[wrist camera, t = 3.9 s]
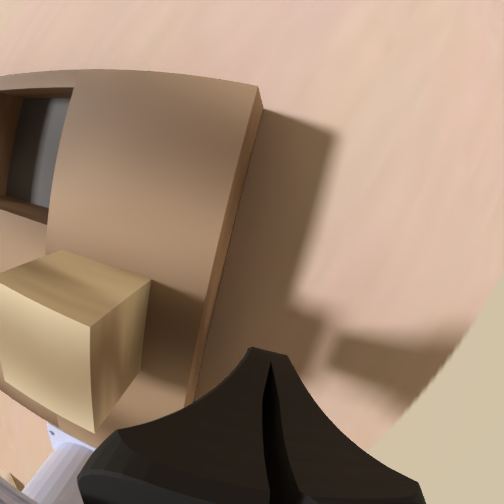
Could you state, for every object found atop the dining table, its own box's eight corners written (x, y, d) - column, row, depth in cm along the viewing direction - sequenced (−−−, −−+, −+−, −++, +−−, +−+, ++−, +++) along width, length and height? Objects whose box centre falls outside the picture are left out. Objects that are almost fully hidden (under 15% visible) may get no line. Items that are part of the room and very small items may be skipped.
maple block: (140, 370, 11) (94, 433, 7) (61, 336, 11) (5, 380, 8) (151, 279, 10) (90, 327, 7) (63, 249, 11) (-11, 276, 7)
